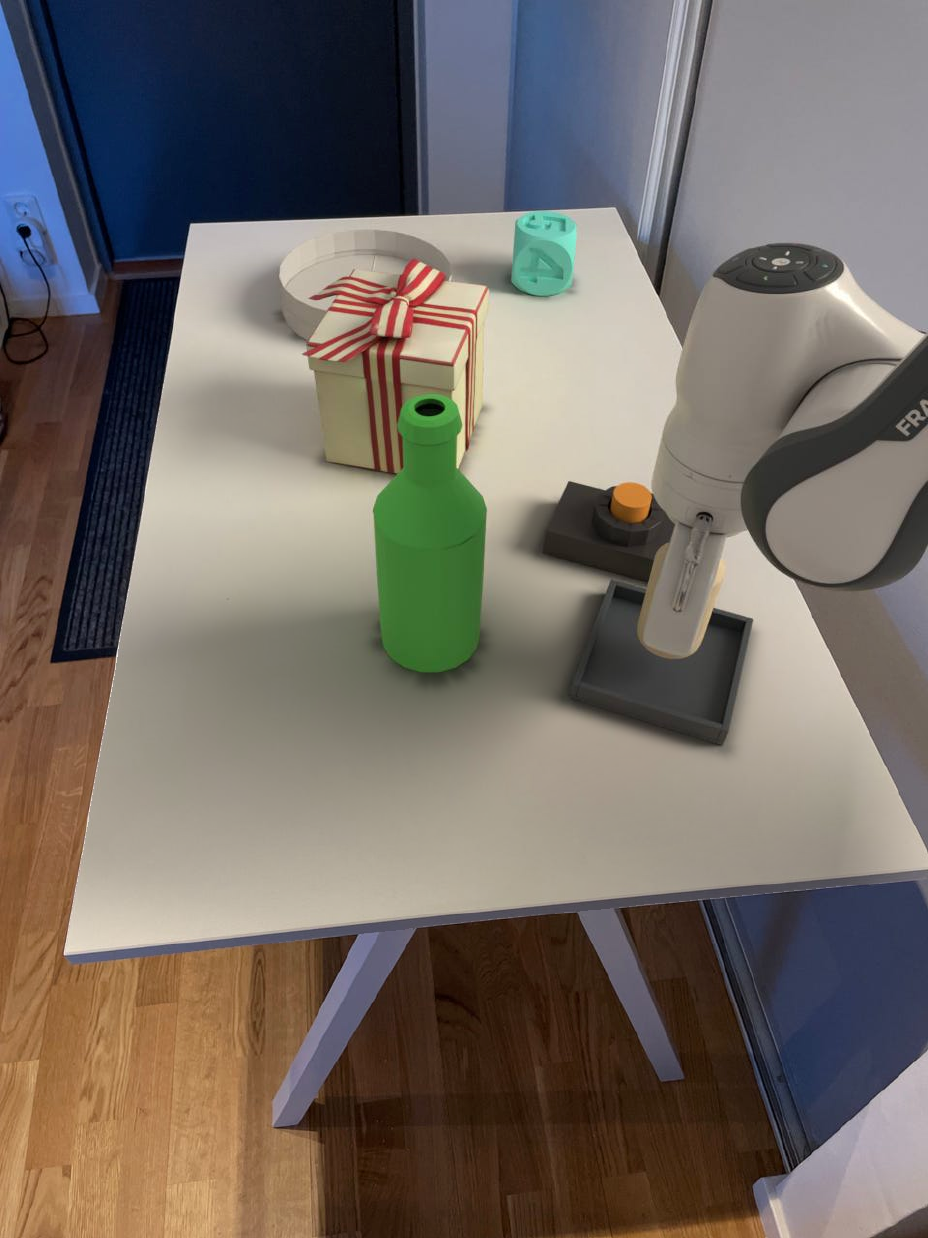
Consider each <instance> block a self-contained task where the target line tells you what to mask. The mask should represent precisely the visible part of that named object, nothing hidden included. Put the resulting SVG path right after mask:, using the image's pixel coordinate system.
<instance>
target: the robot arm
mask: <svg viewBox="0 0 928 1238" xmlns="http://www.w3.org/2000/svg"><path fill="white" fill-rule="evenodd" d="M675 392H676V397H675V398H676V399H675V404H674V405H673V407H672V409H671V411H670V412H669V414H668V415H667V418H666V420H665V423H664V425H663V429H662V434H661V438H660V443H659V447H658V451H657V455H656V459H655V463H654V466H653V467H654V468H653V471H652V477H651V482H650V483H651V493H652V494H653V495H654V497H655V500H656V501H657V503H658V504H659V505H660V507H661V508H662V509H663V510H664V511H665V512H666V514H667V515H668V517H669V519H670V520H671V521H672V522H673V523H674V524H675V527H674V530H673V533H672V536H671V539H670V542H669V545H668V548H667V551H666V554H665V557H664V561H663V564H662V567H661V570H660V574H659V577H658V580H657V584H656V587H655V591H654V595H653V598H652V602H651V605H650V609H649V613H648V616H647V620H646V624H645V627H644V631H643V642H644V644H645V645H647V646H649V647H651V648H653V649H656V650H659V651H662V652H665V653H669V654H673V655H678V656H687V655H689V654H690V653H691V651H692V650H693V647H694V645H695V642H696V639H697V636H698V633H699V629H700V626H701V623H702V620H703V617H704V614H705V611H706V608H707V605H708V601H709V598H710V595H711V592H712V588H713V585H714V582H715V578H716V575H717V571H718V567H719V563H720V560H721V558H722V555H723V553H724V548H725V544H726V540H727V538H731V537H732V538H733V537H734V536H737V535H739V534H740V533H743V532H746V531H747V532H748V533H749V535H750V537H751V539H752V541H753V542H754V544H755V546H756V547H757V549H758V550H759V551H760V553H761V554H762V555H763V556H764V558H765V559H766V561H768V562H769V563H770V564H771V566H773V567H774V568H776V569H777V570H778V571H779V572H781V573H782V574H783V575H785V576H786V577H788V578H790V579H791V580H794V581H796V582H797V583H800V584H803V585H805V586H808V587H811V588H816V589H820V590H825V591H830V592H831V591H832V592H861V591H870V590H876V589H880V588H884V587H886V586H890V585H892V584H894V583H897V582H898V581H900V580H902V579H903V578H905V577H906V576H907V575H908V574H910V573H911V572H912V571H913V570H914V568H916V567H917V565H918V564H919V562H920V561H921V559H922V558H923V556H924V554H925V552H926V551H927V548H928V331H927V332H926V331H922V330H917V329H915V328H913V327H911V326H910V325H908V324H907V323H905V322H904V321H901V320H900V319H898V318H896V317H895V316H894V315H892V314H891V313H890V312H888V311H887V310H886V309H884V308H883V307H881V306H880V305H879V304H878V303H877V302H875V301H874V300H873V299H872V298H871V297H870V296H869V295H868V294H866V292H865V291H864V290H863V289H862V288H861V287H860V286H859V284H858V283H857V281H856V280H855V278H854V276H853V274H852V272H851V271H850V269H849V267H848V265H847V264H846V263H845V262H844V260H842V259H841V258H840V257H839V256H837V255H836V254H835V253H833V252H831V251H828V250H826V249H823V248H821V247H819V246H815V245H811V244H807V243H798V242H775V243H767V244H764V245H759V246H755V247H749V248H746V249H744V250H742V251H740V252H738V253H737V254H734V255H733V256H731V257H730V258H728V259H727V260H726V261H724V262H723V263H722V264H721V265H719V266H718V267H717V268H716V269H715V270H714V271H713V272H712V274H710V276H709V278H708V279H707V281H706V282H705V284H704V286H703V288H702V290H701V292H700V294H699V297H698V300H697V303H696V304H695V308H694V311H693V313H692V316H691V319H690V322H689V325H688V328H687V332H686V335H685V338H684V342H683V346H682V349H681V353H680V356H679V361H678V365H677V369H676V373H675Z"/></svg>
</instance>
